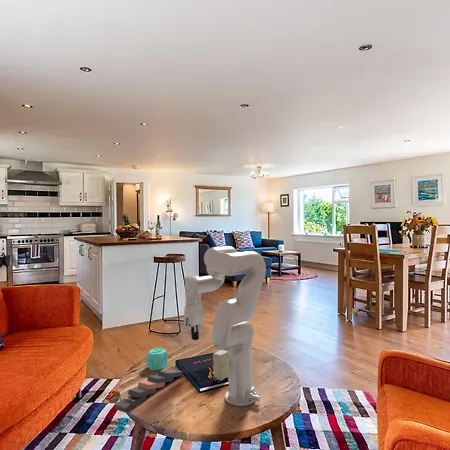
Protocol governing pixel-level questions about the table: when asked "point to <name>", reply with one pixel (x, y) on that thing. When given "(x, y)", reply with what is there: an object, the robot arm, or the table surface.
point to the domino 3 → (150, 385)
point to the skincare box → (220, 364)
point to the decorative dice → (157, 359)
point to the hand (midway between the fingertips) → (195, 339)
